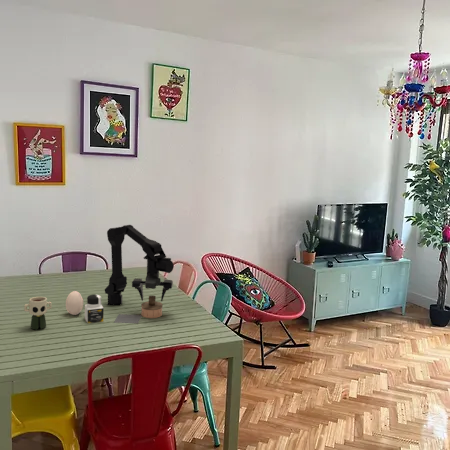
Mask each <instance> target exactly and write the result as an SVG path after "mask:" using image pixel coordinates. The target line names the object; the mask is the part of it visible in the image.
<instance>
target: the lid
mask: <svg viewBox="0 0 450 450" xmlns="http://www.w3.org/2000/svg"><path fill="white" fill-rule="evenodd" d="M163 305H164V304H163V303H162V302H161V301H160V302H159V301H157V300H156V295H148V301H145V302H142V303H141V309H142V308H143V309H146V310H158V309H161V308H162V309H163Z"/></svg>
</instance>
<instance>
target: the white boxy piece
mask: <svg viewBox="0 0 450 450" xmlns="http://www.w3.org/2000/svg"><path fill="white" fill-rule="evenodd" d="M86 297H87V298H86V300H87V301H86V303H87V304H84V320H85V322H86V323H87V324H94V323H101V322H104V315H105V313H104V306H103V304H102V296H101V295H99V294H90V295H88V296H86Z"/></svg>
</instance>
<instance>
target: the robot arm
mask: <svg viewBox="0 0 450 450" xmlns="http://www.w3.org/2000/svg"><path fill="white" fill-rule="evenodd" d="M106 235H107V241H108V243H109V244H110V246H111V248H110V249H111V250H110V251H111V275H110V277H109V278H108V279H109V280H108V285H107V286H106V288H104V293H105V295H106V294H107V304H106V306H117V307H119V306H121V305H122V303H123V294H122V293H123V292H124V291H125V289H126V287H127V284H128V281H127V279H128V277H127V276H125V275H124V273H123V257H122V256H123V255H122V253H123V251H122V246H123V245H122V244H123V243H124V240H125V236H128V237H129V238H130V239H132V240H133V241H134V242H135V243H136V244H138V245H140V247H141V249H142V251H143V252H144V254H146V255H145V256H144V257H143V259H144V260H146V277H145V280H143V278H134V279H133V280H132V281H131V287H132V288H134V289H135V290H137V291H138V293H139V296H140V299H141V302H143V301H144V286H145V289H153V290H154V289H156V288H157V286H158V287H162V292H161V298H160V300H161V301H160V303H162V302H163V300H164V297H165V294H166V292H167V291H169V290H171V289H172V288H173V285H174V284H173V283H174V281H173V280H171V279H164V280H163V281H162V280H161V277H160V272H162V273H167V274H171V273H172V272H173V270H174V267H175V264H174V262H173V261H172V258H171V257H167V255H166V253H165V251H164V250H163V248H162V243H160V242H158V241H156V240H153V239H150V238H148V237H147V236H145V235H144V234H143V233H141V232H140V231H139V230H138V229H137V228H135V227H134V226H133V225H132V224H126V225H122V226H118V227H111V228H109V229H108V230H107V232H106Z"/></svg>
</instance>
